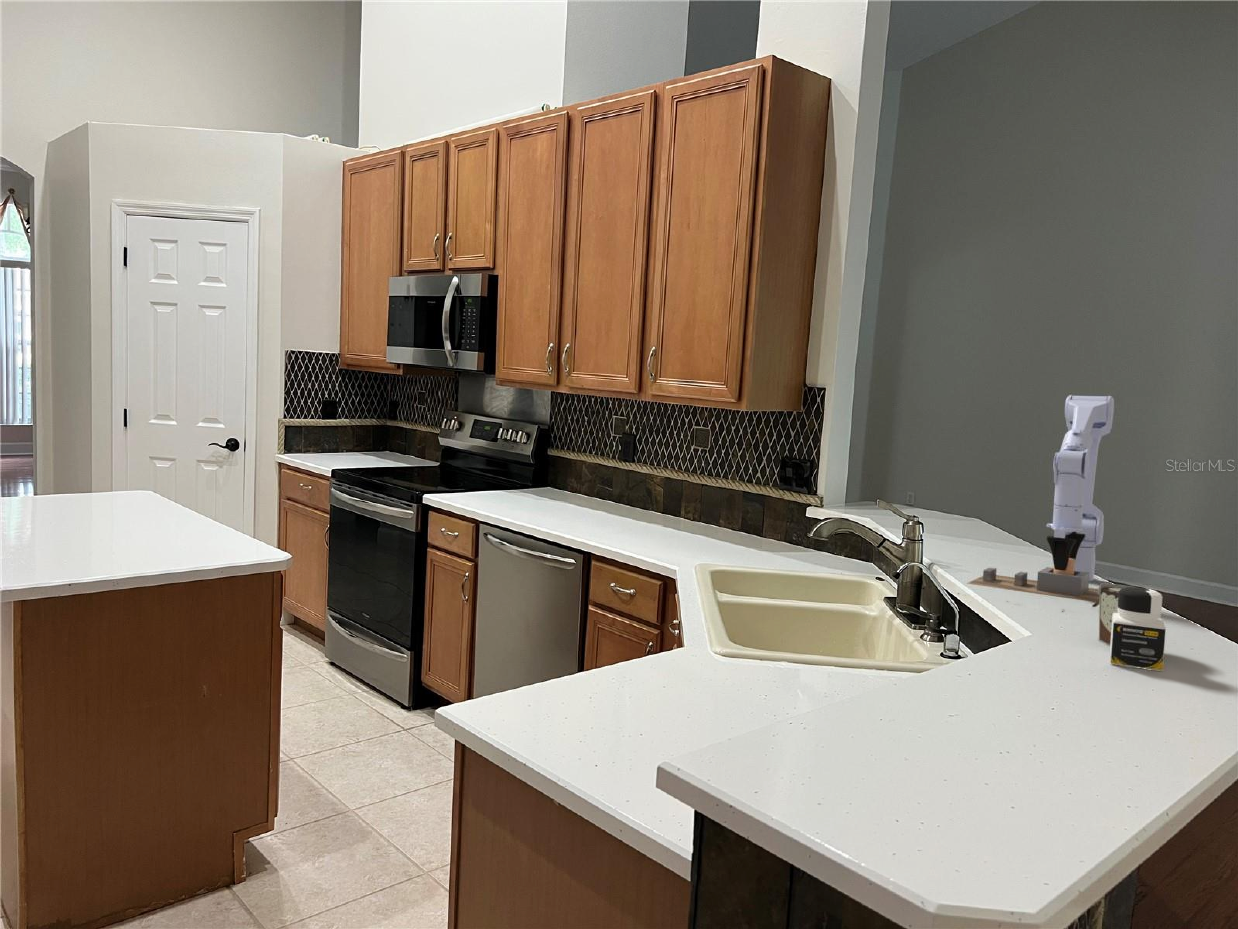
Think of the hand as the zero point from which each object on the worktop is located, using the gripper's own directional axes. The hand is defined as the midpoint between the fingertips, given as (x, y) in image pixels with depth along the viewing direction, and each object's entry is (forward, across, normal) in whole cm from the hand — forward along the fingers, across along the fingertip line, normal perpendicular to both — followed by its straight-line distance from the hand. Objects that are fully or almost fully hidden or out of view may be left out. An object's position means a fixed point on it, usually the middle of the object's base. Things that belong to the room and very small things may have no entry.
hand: (1064, 567), depth 198 cm
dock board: (+6, 0, -5) cm, 8 cm away
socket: (+6, 0, 0) cm, 6 cm away
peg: (+5, 0, 0) cm, 5 cm away
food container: (+6, +41, +19) cm, 46 cm away
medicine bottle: (+6, +51, +21) cm, 56 cm away
